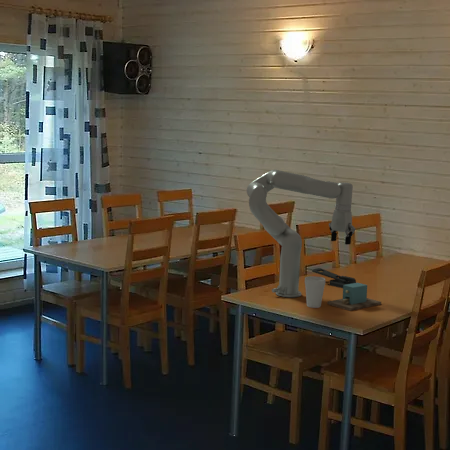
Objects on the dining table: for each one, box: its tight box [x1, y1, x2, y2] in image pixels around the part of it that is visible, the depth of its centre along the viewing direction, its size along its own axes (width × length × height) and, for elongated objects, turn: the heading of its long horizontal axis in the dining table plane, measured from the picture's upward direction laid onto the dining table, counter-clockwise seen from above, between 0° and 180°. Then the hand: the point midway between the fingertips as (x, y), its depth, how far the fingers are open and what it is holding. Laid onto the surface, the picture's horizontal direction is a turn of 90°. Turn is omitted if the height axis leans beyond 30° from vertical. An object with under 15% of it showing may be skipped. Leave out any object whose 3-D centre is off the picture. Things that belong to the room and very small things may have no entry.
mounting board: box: [326, 297, 382, 312], centre depth 335 cm, size 22×14×3 cm, turn 129°
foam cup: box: [304, 275, 326, 309], centre depth 329 cm, size 10×9×13 cm
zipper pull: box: [311, 267, 357, 289], centre depth 375 cm, size 9×7×25 cm
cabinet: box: [341, 282, 368, 304], centre depth 335 cm, size 11×6×8 cm, turn 128°
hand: (340, 242), depth 350 cm, fingers open, 9 cm apart
